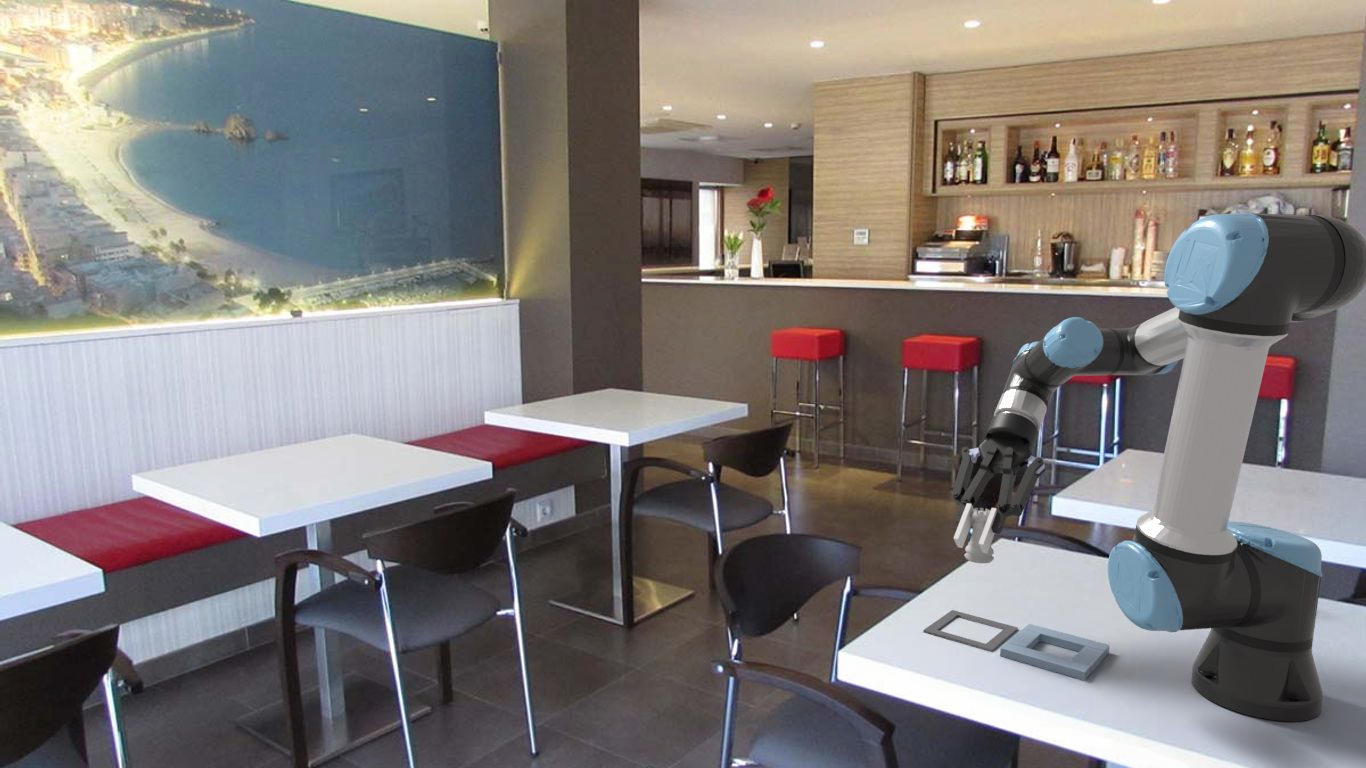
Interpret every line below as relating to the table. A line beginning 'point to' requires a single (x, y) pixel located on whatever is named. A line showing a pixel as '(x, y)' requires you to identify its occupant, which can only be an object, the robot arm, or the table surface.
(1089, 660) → the socket
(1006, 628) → the bezel
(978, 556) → the rook chess piece
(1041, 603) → the table surface
